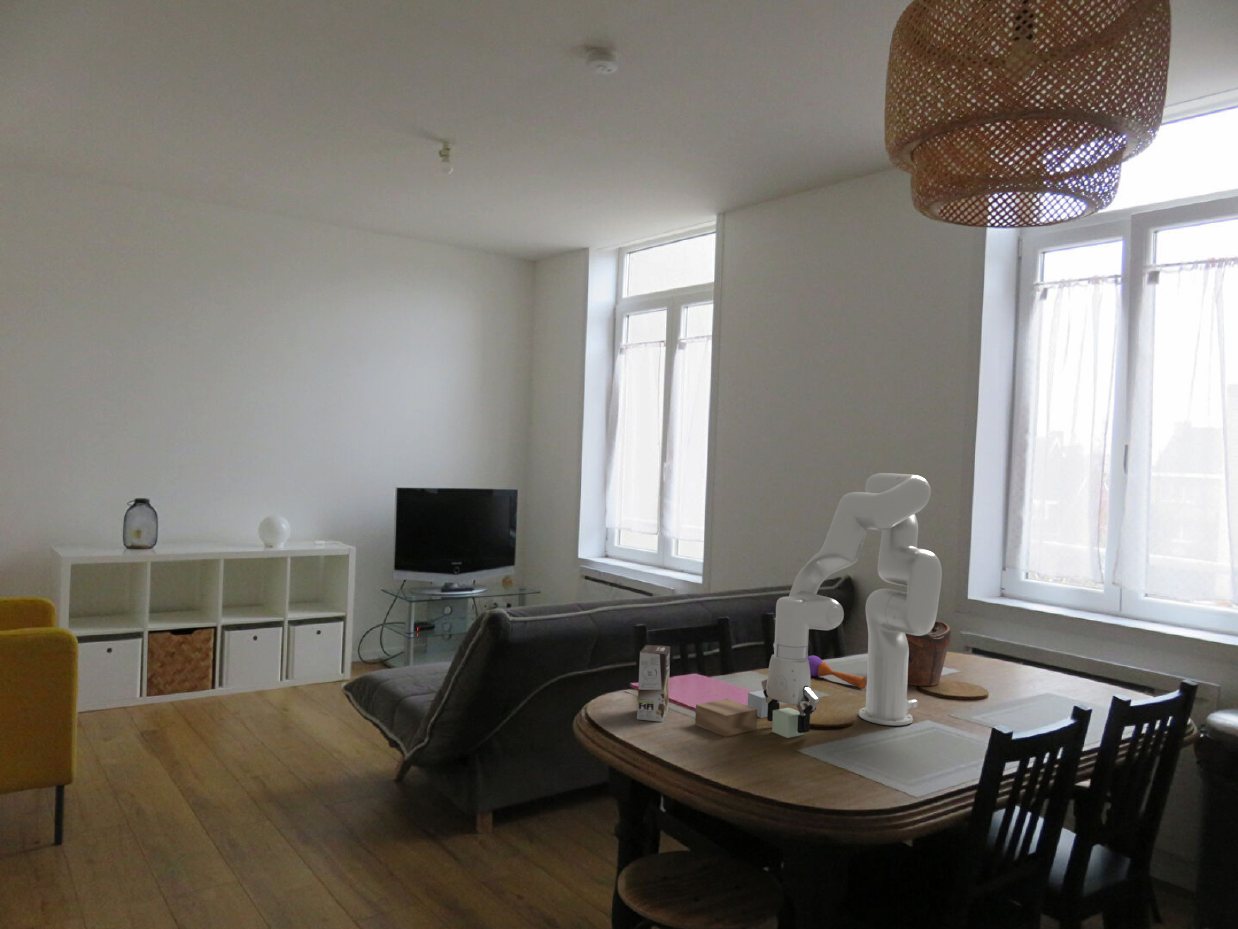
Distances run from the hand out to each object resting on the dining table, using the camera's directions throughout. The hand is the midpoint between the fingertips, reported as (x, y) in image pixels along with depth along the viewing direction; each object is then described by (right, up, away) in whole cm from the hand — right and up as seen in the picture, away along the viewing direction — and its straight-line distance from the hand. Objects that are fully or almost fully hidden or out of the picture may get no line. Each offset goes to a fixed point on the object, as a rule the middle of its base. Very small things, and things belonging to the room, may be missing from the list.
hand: (787, 726), depth 203 cm
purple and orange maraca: (+22, -2, +49) cm, 54 cm away
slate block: (-4, -1, +14) cm, 15 cm away
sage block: (0, -2, 0) cm, 2 cm away
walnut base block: (-14, -1, +3) cm, 14 cm away
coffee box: (-31, -1, +10) cm, 32 cm away
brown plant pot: (+47, -3, +53) cm, 71 cm away
